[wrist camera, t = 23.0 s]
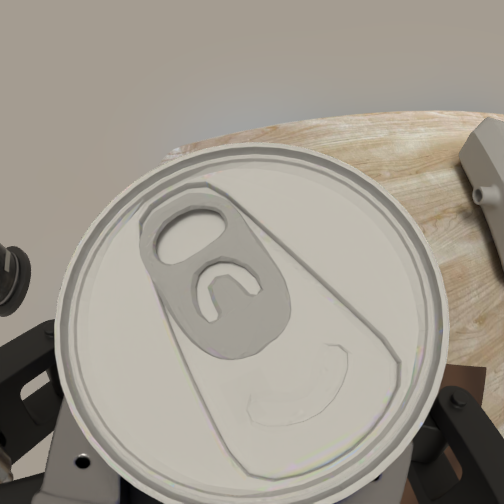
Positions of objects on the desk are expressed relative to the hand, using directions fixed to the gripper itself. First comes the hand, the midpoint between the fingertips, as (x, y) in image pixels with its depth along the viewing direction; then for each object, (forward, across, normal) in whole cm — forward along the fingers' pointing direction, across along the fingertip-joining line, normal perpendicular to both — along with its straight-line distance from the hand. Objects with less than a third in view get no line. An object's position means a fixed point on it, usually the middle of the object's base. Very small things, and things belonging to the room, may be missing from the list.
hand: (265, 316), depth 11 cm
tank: (+33, -35, -2) cm, 48 cm away
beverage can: (+4, 0, +6) cm, 8 cm away
